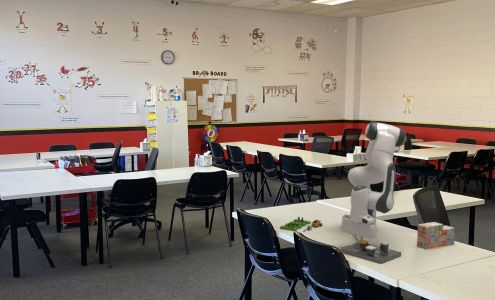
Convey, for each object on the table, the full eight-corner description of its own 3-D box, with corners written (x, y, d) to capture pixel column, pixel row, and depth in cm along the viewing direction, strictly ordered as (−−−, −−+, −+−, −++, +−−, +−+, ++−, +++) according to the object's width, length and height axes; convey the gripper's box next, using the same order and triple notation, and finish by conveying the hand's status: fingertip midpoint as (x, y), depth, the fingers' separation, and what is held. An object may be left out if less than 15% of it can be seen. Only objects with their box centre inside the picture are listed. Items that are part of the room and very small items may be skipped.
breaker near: (365, 253, 239) (365, 247, 239) (369, 252, 241) (369, 245, 241) (371, 255, 236) (371, 248, 236) (375, 254, 239) (376, 247, 238)
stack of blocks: (445, 241, 270) (446, 220, 269) (454, 244, 264) (455, 222, 263) (416, 246, 260) (417, 224, 259) (425, 249, 255) (426, 226, 254)
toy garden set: (296, 221, 313) (296, 214, 313) (323, 226, 303) (324, 218, 303) (279, 229, 294) (279, 222, 293) (308, 234, 284) (308, 226, 283)
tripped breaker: (359, 247, 249) (359, 241, 249) (363, 246, 251) (363, 240, 251) (364, 249, 246) (365, 242, 246) (369, 247, 249) (369, 241, 248)
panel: (340, 252, 249) (340, 248, 249) (361, 245, 261) (361, 241, 261) (381, 263, 231) (381, 259, 231) (401, 256, 243) (401, 251, 243)
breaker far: (379, 249, 247) (379, 242, 247) (382, 247, 249) (383, 241, 249) (385, 250, 244) (385, 244, 244) (389, 249, 247) (389, 242, 246)
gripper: (338, 214, 256) (338, 240, 257) (372, 221, 240) (371, 248, 242) (346, 212, 260) (345, 238, 261) (379, 219, 245) (378, 246, 246)
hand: (358, 243), depth 251 cm, fingers closed
